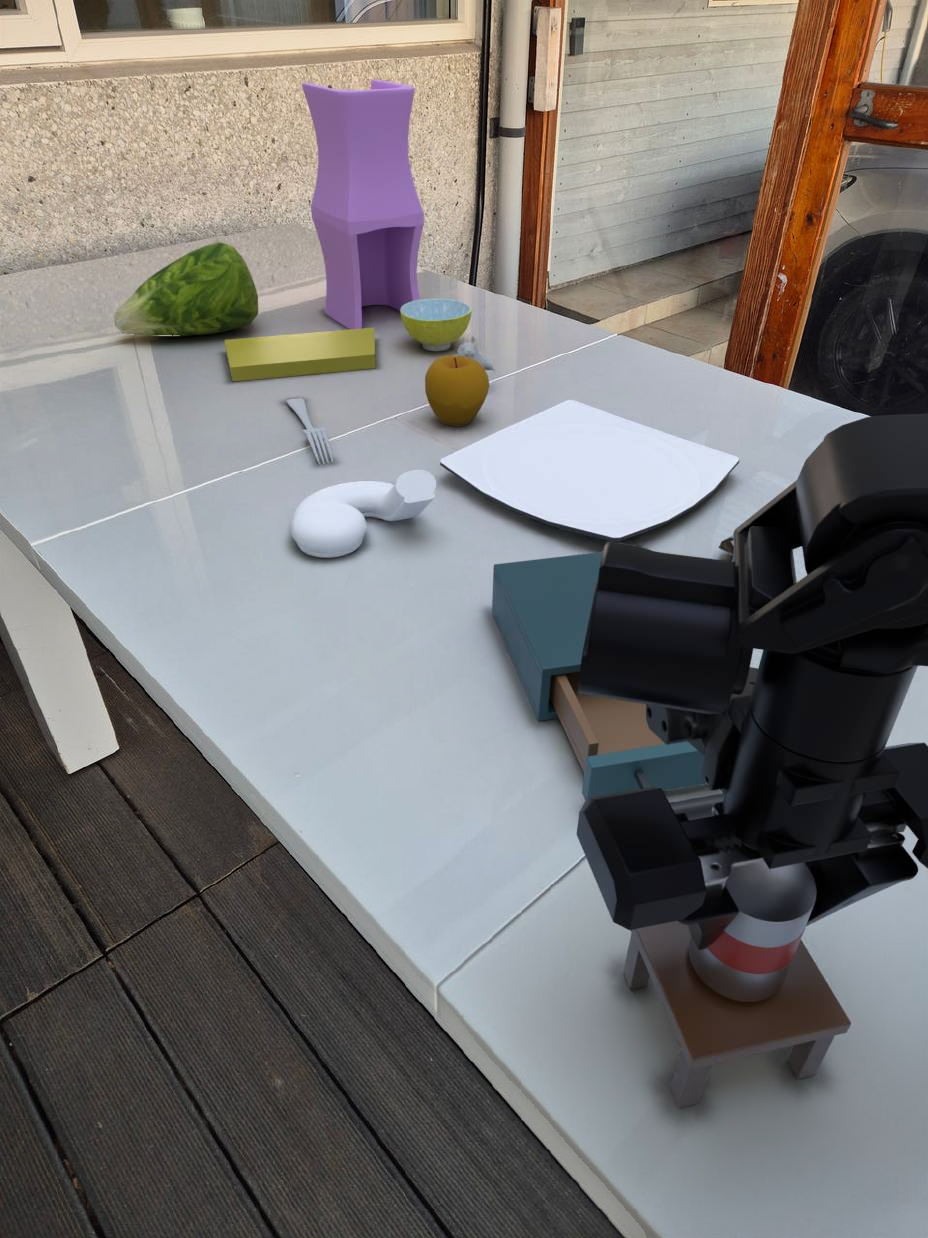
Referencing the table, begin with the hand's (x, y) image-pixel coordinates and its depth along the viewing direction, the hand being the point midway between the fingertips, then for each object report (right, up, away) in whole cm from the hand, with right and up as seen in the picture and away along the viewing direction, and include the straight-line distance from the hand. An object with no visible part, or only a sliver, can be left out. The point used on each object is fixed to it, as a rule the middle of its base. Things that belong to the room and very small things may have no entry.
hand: (746, 931), depth 47 cm
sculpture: (-27, +26, +51) cm, 63 cm away
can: (0, -2, +2) cm, 2 cm away
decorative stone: (+13, +22, +46) cm, 52 cm away
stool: (0, -7, +5) cm, 9 cm away
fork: (-36, +42, +71) cm, 90 cm away
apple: (-16, +44, +74) cm, 88 cm away
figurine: (-15, +51, +84) cm, 99 cm away
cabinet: (-4, +14, +34) cm, 36 cm away
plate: (0, +34, +61) cm, 69 cm away
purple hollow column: (-31, +70, +110) cm, 134 cm away
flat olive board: (-40, +57, +92) cm, 115 cm away
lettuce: (-61, +64, +101) cm, 134 cm away
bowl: (-20, +61, +97) cm, 117 cm away
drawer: (-1, +7, +23) cm, 24 cm away
